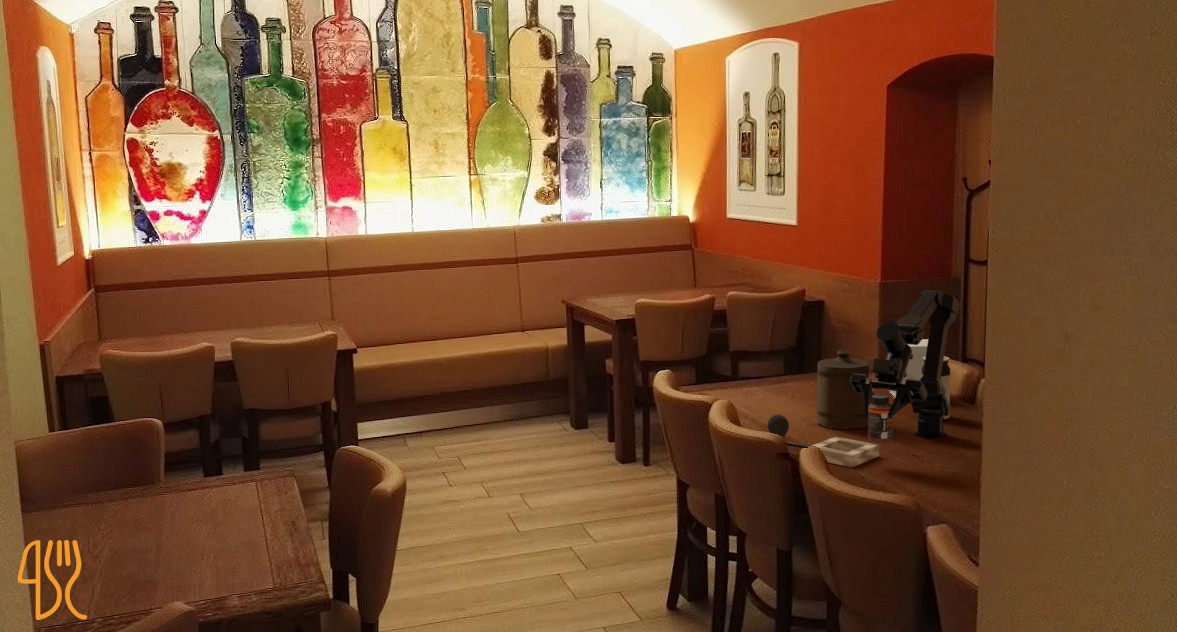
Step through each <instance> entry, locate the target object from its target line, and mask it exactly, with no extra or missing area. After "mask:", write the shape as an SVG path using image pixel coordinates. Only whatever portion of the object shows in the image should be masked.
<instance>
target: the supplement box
mask: <svg viewBox="0 0 1177 632" xmlns="http://www.w3.org/2000/svg"><path fill="white" fill-rule="evenodd" d="M927 344H928V338H927V339H924V338H923V339H922V340H921V341H920V343H919V344H918V345H911V344H907V345H909V346H910V347H911V349H912V354H913V359H910V360H909V363H908V366H907V369H906V373H907V376H906V377H904V378H903V380H902V383H901V384H905V382H906V380H907V379H912V380H920V379H921V378H922V367H923V365H924V360H923V357H925V356H926V351H927ZM890 393H891V394H892V395H893V396H894V397H893V396H892V395H891V394H890ZM889 394H890V395H891V396H892V397H893V399H894V398H895V396H896V391H890V392H889Z"/></svg>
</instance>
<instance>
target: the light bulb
mask: <svg viewBox="0 0 1177 632" xmlns="http://www.w3.org/2000/svg"><path fill="white" fill-rule="evenodd" d="M789 428H790V424H789V421H788V419H787V418H786V417H785V416H784V415H782V414H774V415H772V416H771V417H770V418H769V419H768V421H767V430H768V432H769V434H770V433H774V434H778V435H780V436H782V437H783V438H784V439H785V437H786V435H787V433H788V431H789Z"/></svg>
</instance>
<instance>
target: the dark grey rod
mask: <svg viewBox="0 0 1177 632" xmlns="http://www.w3.org/2000/svg"><path fill="white" fill-rule="evenodd" d="M787 442H788V444H795V445H800V446H801V445H802V446H803V447H802V448H804V447H806V446H812V445H811V444H810V445H809V444H805V443H804V444H803V443H797V442H791V441H787Z"/></svg>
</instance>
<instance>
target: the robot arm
mask: <svg viewBox="0 0 1177 632" xmlns="http://www.w3.org/2000/svg"><path fill="white" fill-rule="evenodd" d="M959 310H960V302H959V300H958V299H956V297H955V296H953V295H949V294H946V293H943V292H942V291H940V290H928V289H925V290H922V291H921V294H920V297H919V298H918V300H917V302H916V303H915V304H914V306H913V307H912V308H911V310H910V311H909V313H908V314H907V315H905V316H903V317H900V318H898V319H888V321H887V322H886V323H884V324H882V325H880V326H879V327H878V328H877V330H876V336H877V338H878V339H877V340H878V341H879V342H880V345H881V346H882V349H883V350H884V352H886V356H885V358H875V357H874V358H872V365H871V369H870V371H871V372H874V377H875V378H876V379H877V380H872V379H870V377H869V378H868V376H867V375H866V374H856V373H854V374H852V375H851V377H850V379H849V382H850V384H851V386H852V388H853V389H854V391H855V392H856V393H859V394H863V395H864V403H865V413H866V414H868V406H869V405H870V404H871V403H872V402H873V401H872V396H873V395H876V394H875V393H874V390H875V389H877V390H883V391H888V392H889V391H896V396H895V399H894V398H893V401H892V404H891V405H892V406H891V409H890V412H889V417H890V418H892V417H894V416H895V415H896V414H897V413H898V412H900V411H901V409H903V408H905V407H906V406H907V405H909V403H911V407H912V412H913V414H918V419H917V431H914V432H913V434H914V435H917V436H921V437H925V438H927V439H935V438H936V439H937V438H940V437H946V436H948V433H947V432H944V420H943V416H948V415H949V411H950V410H951V409H950V408H951V406H950V405H951V404H950V405H949V403H948V401H947V399H946V396H945V388H944V386H943V384H942V382H941V373H942V366H943V359H944V356H945V350H946V344H947V338H948V332H949V331H948V330H949V328H950V326H952V324H953V323H955V321H956V318H957V316H958V315H957V314H958V313H959ZM927 322H928V324H929V332H928V338H927V339H928V344H927V351H926V358H925V365H924V372H923V377H922V378H921V379H920V380H912V379H907V380H906V382H905V384H901V383H902V380H903V378H904V377H906V376H907V373H906V369H907V366H908V363H909V360H910V359H913V354H912V349H911V347H910V346H909V345H907V344H911V345H918V344H919V343H920V341H921V340H922V339H924V336H925V332H924V327H925V325H926V323H927ZM950 412H951V411H950Z"/></svg>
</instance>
